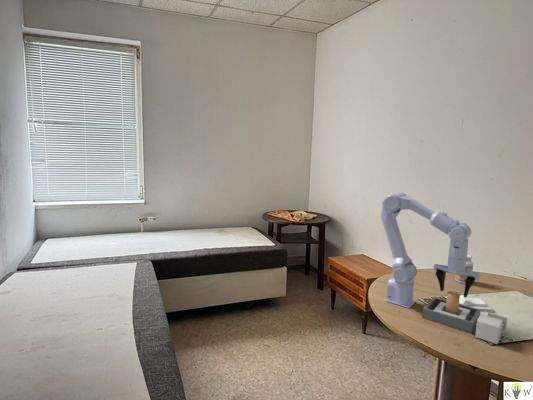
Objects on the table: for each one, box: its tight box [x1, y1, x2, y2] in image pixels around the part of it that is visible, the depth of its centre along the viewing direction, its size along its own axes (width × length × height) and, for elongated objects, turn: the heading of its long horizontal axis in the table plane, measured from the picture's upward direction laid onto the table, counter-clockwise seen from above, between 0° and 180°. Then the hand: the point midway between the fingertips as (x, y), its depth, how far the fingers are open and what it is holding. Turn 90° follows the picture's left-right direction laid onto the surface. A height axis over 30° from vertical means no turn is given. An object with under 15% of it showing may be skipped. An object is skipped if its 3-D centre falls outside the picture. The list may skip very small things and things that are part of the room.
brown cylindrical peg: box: [445, 290, 461, 315], centre depth 126 cm, size 4×4×9 cm
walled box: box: [422, 296, 482, 334], centre depth 127 cm, size 16×14×4 cm
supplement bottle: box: [454, 254, 474, 285], centre depth 162 cm, size 7×7×13 cm
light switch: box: [459, 294, 495, 313], centre depth 138 cm, size 11×4×13 cm
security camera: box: [474, 312, 509, 345], centre depth 114 cm, size 6×7×10 cm
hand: (453, 293), depth 125 cm, fingers open, 7 cm apart
